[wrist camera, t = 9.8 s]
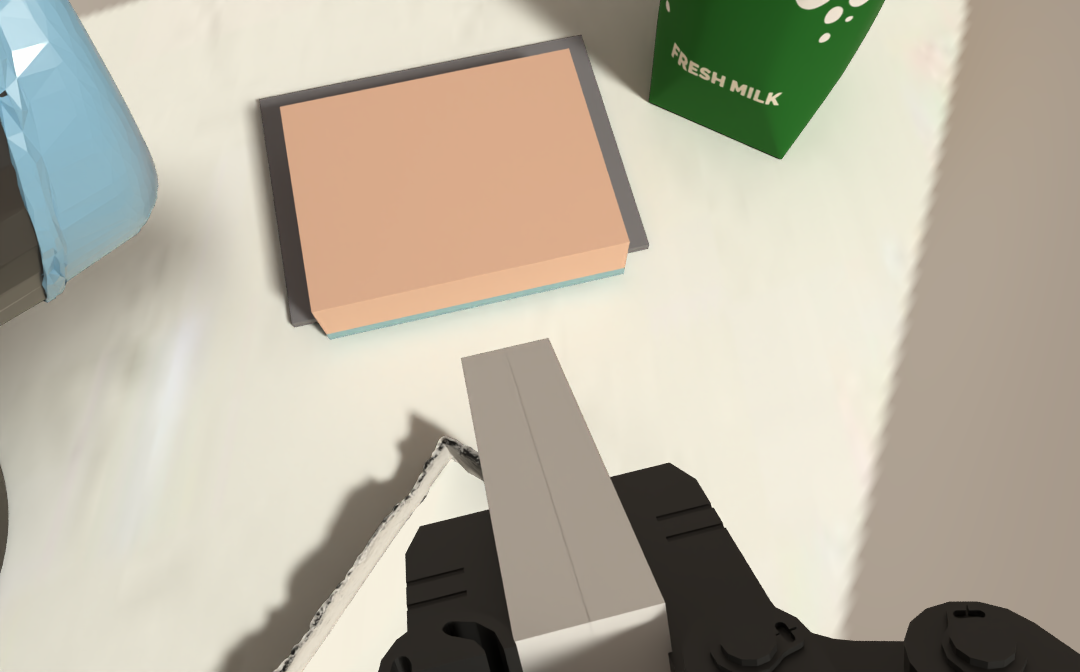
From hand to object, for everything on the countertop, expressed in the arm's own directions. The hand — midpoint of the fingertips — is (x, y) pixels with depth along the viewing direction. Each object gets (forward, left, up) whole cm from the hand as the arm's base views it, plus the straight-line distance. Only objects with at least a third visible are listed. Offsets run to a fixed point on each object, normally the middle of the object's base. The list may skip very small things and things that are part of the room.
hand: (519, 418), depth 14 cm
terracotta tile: (-3, +10, -18) cm, 21 cm away
